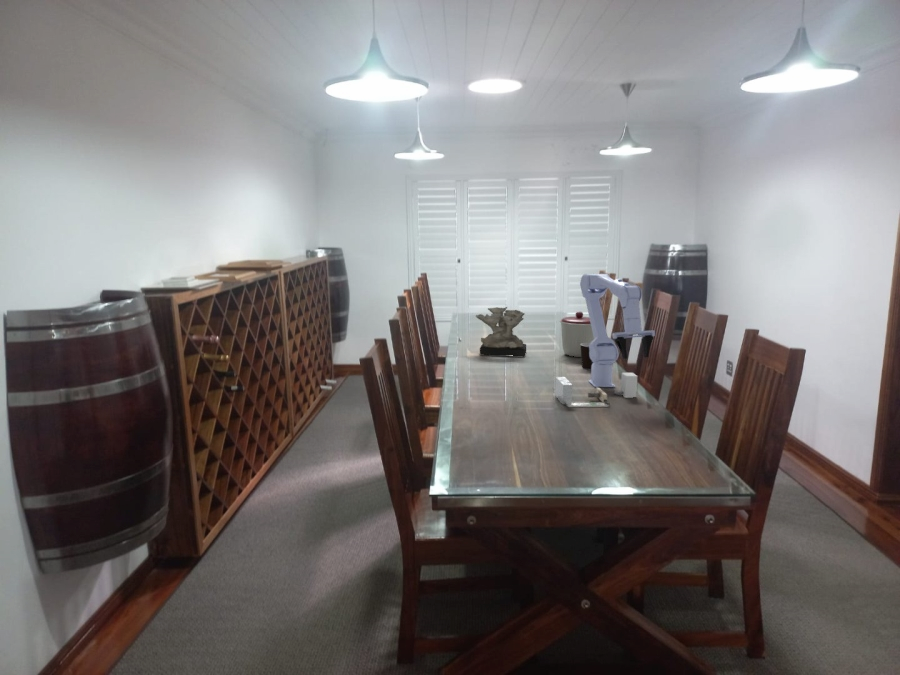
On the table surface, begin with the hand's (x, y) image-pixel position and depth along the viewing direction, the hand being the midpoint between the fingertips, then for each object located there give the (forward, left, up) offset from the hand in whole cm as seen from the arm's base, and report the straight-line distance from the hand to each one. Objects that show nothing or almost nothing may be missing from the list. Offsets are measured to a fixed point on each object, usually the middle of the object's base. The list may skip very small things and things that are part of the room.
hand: (635, 358), depth 206 cm
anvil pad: (+1, -13, -15) cm, 20 cm away
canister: (-76, 0, -16) cm, 78 cm away
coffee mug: (-51, 0, -16) cm, 53 cm away
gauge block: (-6, -1, -15) cm, 17 cm away
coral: (-84, -36, -16) cm, 93 cm away
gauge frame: (0, -19, -15) cm, 24 cm away
